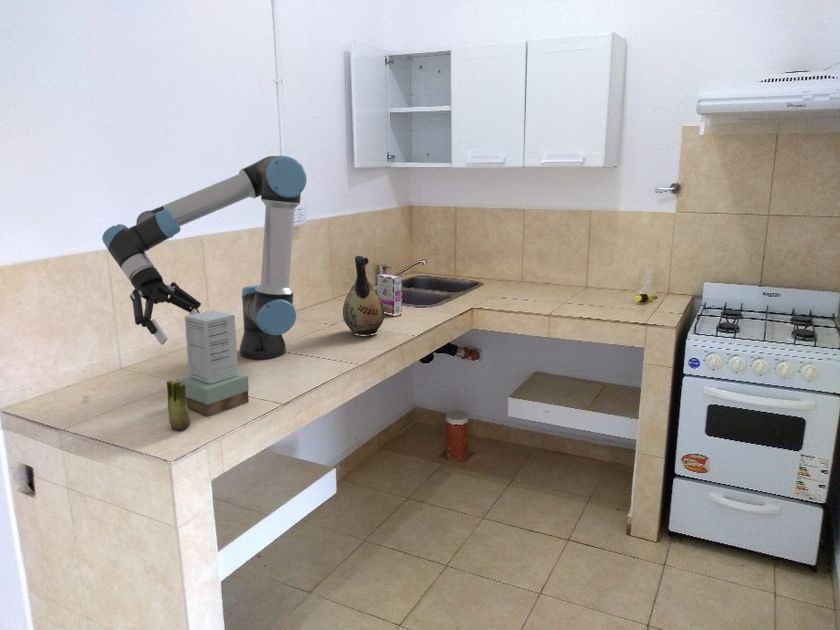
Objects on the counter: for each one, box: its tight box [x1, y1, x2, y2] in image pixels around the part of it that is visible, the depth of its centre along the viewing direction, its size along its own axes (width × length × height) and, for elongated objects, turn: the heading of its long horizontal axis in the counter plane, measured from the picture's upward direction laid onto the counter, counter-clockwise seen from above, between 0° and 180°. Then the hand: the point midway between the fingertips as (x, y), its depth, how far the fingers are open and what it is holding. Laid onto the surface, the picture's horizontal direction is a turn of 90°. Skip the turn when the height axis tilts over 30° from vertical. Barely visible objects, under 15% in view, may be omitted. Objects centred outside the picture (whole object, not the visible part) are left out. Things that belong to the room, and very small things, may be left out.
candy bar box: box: [376, 273, 403, 314], centre depth 271 cm, size 11×5×16 cm, turn 43°
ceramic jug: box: [342, 255, 385, 335], centre depth 238 cm, size 17×15×30 cm
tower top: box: [175, 372, 250, 405], centre depth 172 cm, size 13×13×4 cm
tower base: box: [186, 390, 250, 418], centre depth 173 cm, size 13×13×4 cm
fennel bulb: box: [166, 380, 192, 431], centre depth 156 cm, size 6×5×12 cm
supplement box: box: [184, 309, 239, 384], centre depth 170 cm, size 10×9×17 cm
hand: (185, 335), depth 173 cm, fingers open, 13 cm apart
